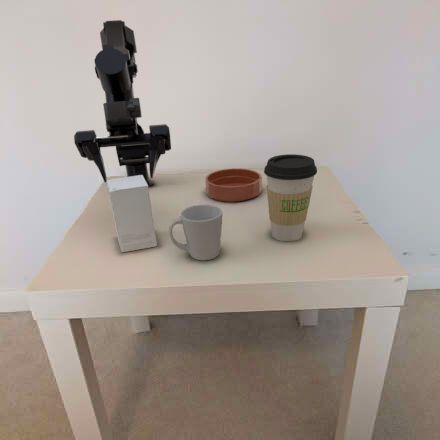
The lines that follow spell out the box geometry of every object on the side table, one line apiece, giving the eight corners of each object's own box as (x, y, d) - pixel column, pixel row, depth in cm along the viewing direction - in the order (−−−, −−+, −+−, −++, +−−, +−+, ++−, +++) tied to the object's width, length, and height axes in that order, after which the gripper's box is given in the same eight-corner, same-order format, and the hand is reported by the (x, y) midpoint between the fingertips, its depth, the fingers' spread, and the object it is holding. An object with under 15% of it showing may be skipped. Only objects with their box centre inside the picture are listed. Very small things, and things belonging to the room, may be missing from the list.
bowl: (196, 190, 105) (195, 175, 103) (242, 179, 111) (241, 165, 109) (224, 207, 95) (223, 191, 93) (272, 194, 101) (273, 178, 98)
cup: (228, 260, 74) (226, 218, 69) (174, 268, 73) (169, 225, 68) (220, 242, 80) (218, 202, 75) (170, 248, 79) (165, 208, 74)
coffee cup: (306, 248, 77) (313, 170, 68) (257, 242, 80) (257, 167, 71) (314, 227, 84) (321, 154, 76) (269, 222, 87) (271, 152, 79)
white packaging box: (158, 246, 80) (148, 185, 73) (120, 253, 78) (107, 191, 71) (152, 231, 86) (143, 173, 79) (117, 237, 84) (105, 178, 77)
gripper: (62, 86, 74) (68, 163, 71) (163, 79, 76) (173, 153, 73) (79, 122, 85) (84, 190, 82) (166, 115, 86) (175, 182, 84)
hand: (128, 179), depth 80 cm, fingers open, 9 cm apart
